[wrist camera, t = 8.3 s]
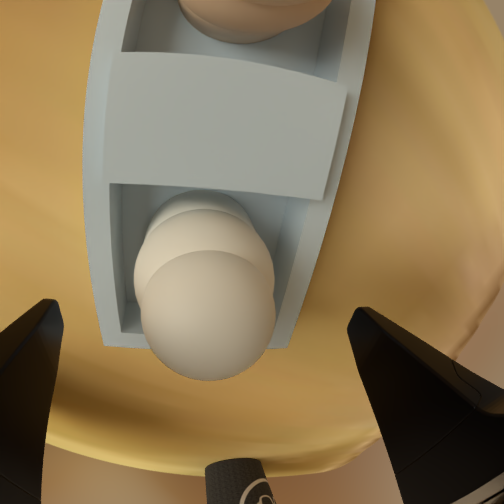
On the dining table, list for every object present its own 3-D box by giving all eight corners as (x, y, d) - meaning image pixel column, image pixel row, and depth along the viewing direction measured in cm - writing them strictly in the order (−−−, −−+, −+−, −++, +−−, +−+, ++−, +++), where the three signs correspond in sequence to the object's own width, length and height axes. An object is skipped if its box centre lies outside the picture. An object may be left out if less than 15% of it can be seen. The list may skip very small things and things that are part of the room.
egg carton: (273, 311, 15) (292, 360, 13) (112, 307, 13) (101, 359, 10) (349, -47, 7) (393, -71, 4) (155, -83, 5) (148, -125, 2)
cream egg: (265, 192, 11) (334, 290, 6) (246, 289, 14) (283, 407, 8) (144, 183, 10) (104, 283, 5) (144, 285, 12) (131, 410, 7)
